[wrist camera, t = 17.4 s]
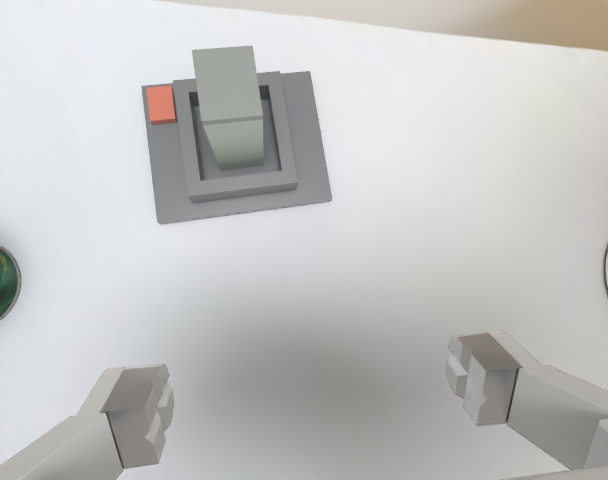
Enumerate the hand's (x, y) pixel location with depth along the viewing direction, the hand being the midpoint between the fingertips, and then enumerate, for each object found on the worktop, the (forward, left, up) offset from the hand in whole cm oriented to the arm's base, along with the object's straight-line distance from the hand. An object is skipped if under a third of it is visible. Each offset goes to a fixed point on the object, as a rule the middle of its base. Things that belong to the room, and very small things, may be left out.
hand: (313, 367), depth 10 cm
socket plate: (+2, -16, -23) cm, 28 cm away
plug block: (+2, -16, -22) cm, 27 cm away
